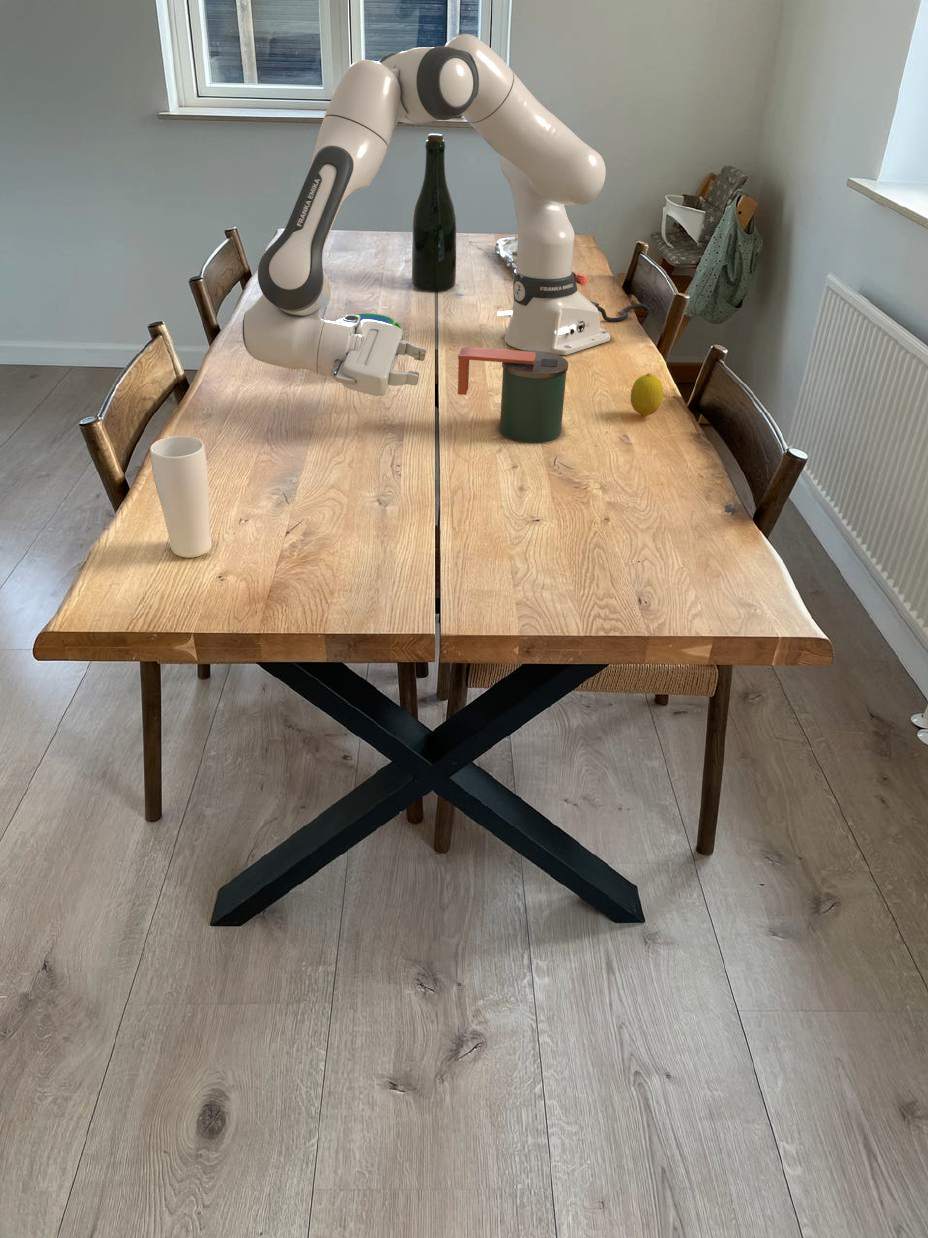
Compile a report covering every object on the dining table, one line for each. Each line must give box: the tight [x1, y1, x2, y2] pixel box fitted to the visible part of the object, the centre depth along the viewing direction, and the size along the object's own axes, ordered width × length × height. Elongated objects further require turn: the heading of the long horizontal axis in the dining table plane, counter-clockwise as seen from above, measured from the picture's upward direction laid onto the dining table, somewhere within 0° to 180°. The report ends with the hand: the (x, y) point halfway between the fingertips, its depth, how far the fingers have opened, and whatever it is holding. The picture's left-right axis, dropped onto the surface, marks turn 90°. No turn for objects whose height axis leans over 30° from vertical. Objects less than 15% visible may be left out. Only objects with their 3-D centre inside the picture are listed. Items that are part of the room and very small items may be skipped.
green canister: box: [499, 351, 569, 444], centre depth 166 cm, size 11×11×12 cm
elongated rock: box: [495, 236, 518, 277], centre depth 254 cm, size 35×5×10 cm
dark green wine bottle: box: [411, 133, 457, 292], centre depth 228 cm, size 10×10×33 cm
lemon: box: [630, 372, 664, 418], centre depth 173 cm, size 6×6×8 cm
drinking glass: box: [149, 435, 213, 559], centre depth 129 cm, size 7×7×15 cm
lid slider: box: [457, 346, 536, 396], centre depth 164 cm, size 12×4×7 cm, turn 83°
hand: (421, 366), depth 166 cm, fingers open, 8 cm apart
